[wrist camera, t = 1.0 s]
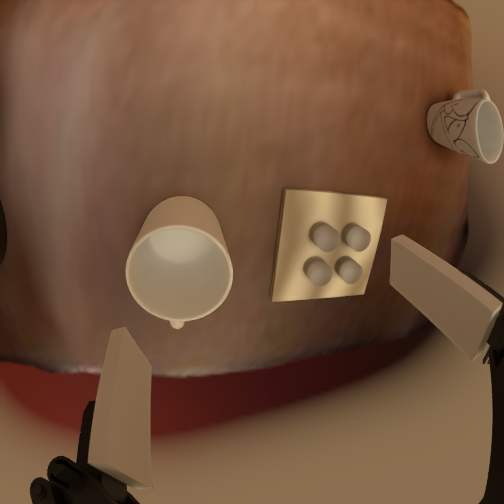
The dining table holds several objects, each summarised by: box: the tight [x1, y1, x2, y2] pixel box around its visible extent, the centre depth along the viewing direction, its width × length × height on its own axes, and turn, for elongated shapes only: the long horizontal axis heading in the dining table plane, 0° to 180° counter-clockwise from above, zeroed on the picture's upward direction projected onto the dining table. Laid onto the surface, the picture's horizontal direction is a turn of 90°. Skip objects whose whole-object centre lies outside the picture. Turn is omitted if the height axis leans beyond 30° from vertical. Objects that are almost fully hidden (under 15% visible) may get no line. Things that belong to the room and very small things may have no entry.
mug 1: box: [125, 196, 233, 329], centre depth 25 cm, size 12×8×10 cm
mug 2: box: [427, 89, 503, 164], centre depth 25 cm, size 11×8×10 cm
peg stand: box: [270, 188, 387, 302], centre depth 32 cm, size 14×14×4 cm
